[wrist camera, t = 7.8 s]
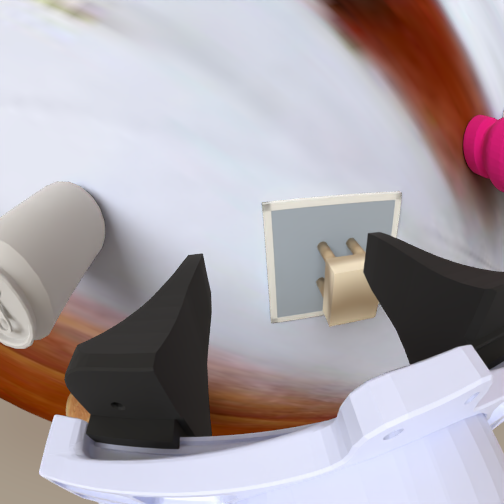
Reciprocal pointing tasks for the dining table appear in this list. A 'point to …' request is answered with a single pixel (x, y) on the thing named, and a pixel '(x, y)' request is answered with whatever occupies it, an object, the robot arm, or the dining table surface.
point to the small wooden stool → (345, 286)
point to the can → (45, 258)
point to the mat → (310, 235)
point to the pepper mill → (486, 148)
